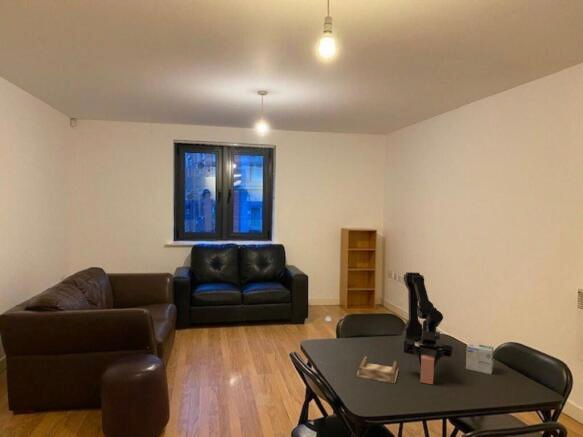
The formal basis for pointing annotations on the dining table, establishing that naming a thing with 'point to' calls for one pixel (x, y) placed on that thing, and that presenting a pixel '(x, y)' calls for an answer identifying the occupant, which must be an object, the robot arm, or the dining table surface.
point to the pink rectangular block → (427, 369)
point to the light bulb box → (479, 358)
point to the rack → (378, 371)
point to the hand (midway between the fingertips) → (427, 366)
